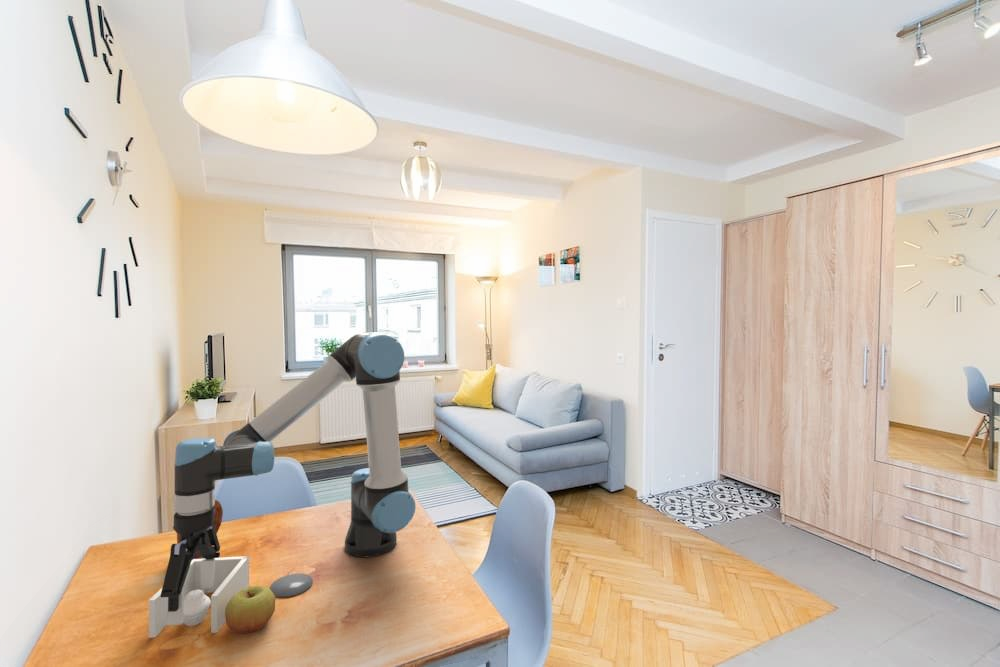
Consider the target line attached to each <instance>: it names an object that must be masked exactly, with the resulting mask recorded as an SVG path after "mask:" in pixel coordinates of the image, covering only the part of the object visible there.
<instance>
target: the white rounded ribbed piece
mask: <svg viewBox="0 0 1000 667" xmlns="http://www.w3.org/2000/svg"><path fill="white" fill-rule="evenodd" d="M210 607H211V597H209V596H207V595H206V594H205V593H204V592H203V591H202V590H194V591H191V592H189V593H188V594H187V595H186V597H185V600H184V622H183V624H185V625H186V626H188V627H193V626H196V625H200V624H201V623H202V622H203V621H204V620H205V617H206V615H207V614H208V612H209V610H210Z"/></svg>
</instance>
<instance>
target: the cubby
mask: <svg viewBox="0 0 1000 667" xmlns="http://www.w3.org/2000/svg"><path fill="white" fill-rule="evenodd" d="M214 559H215V586H214V587H213V588H201V561H202V560H204V559H193V560H192V561H191V564H190V567H189V570H188V573H187V576H186V579H185V582H184V585H183V588H182V591H184V600H185V597H186V595H187V594H188V593H189V592H191V591H194V590H202V591H203V592H204V594H210V593H212V594H211V596H210V600H211V604H210V609H211V610H210V613H211V614H210V615H211V616H210V634H215V633H218V632H219V631H220V629H221V628H222V627H223V625H224V624H225V623H226V618H225V608H226V606H227V604H228V602H229V600H230V599H231V597H232V596H233V595H234V594H236V593H237V592H238V591H240V590H242V589H244V588H247V587H250V555H244V556H230V557H229V556H226V557H219V558H214ZM161 591H162V587H161V588H160V589H159V590H158V591H157V592H155V594H154V595H152V596H151V598H150V599H148V639H152V638H156V637H157V636H158V635H159V634H160V633H161V632H162V630H164V628H165V627H166V626H168V625H167V618H168V597H163V598H161Z"/></svg>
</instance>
